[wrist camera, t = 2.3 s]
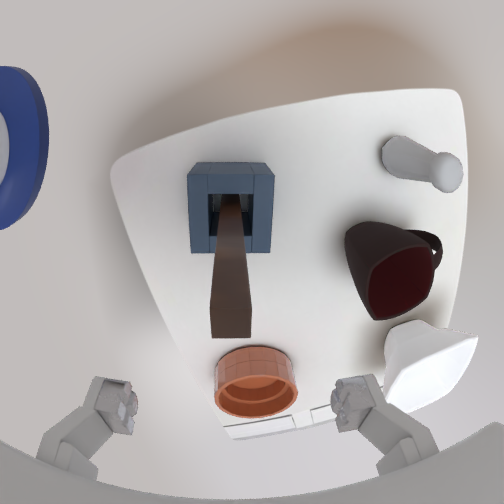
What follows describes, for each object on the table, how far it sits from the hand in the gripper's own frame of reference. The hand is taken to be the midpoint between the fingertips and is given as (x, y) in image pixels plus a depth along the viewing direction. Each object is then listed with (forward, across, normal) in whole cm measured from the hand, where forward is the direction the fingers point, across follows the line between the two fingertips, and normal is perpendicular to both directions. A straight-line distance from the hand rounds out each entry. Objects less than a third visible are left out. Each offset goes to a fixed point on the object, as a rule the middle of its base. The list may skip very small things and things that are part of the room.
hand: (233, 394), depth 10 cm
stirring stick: (+28, 0, 0) cm, 28 cm away
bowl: (+29, -34, +27) cm, 52 cm away
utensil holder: (+28, 0, 0) cm, 28 cm away
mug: (+28, -21, +6) cm, 36 cm away
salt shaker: (+28, -22, -7) cm, 37 cm away
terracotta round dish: (+28, -4, +33) cm, 44 cm away
